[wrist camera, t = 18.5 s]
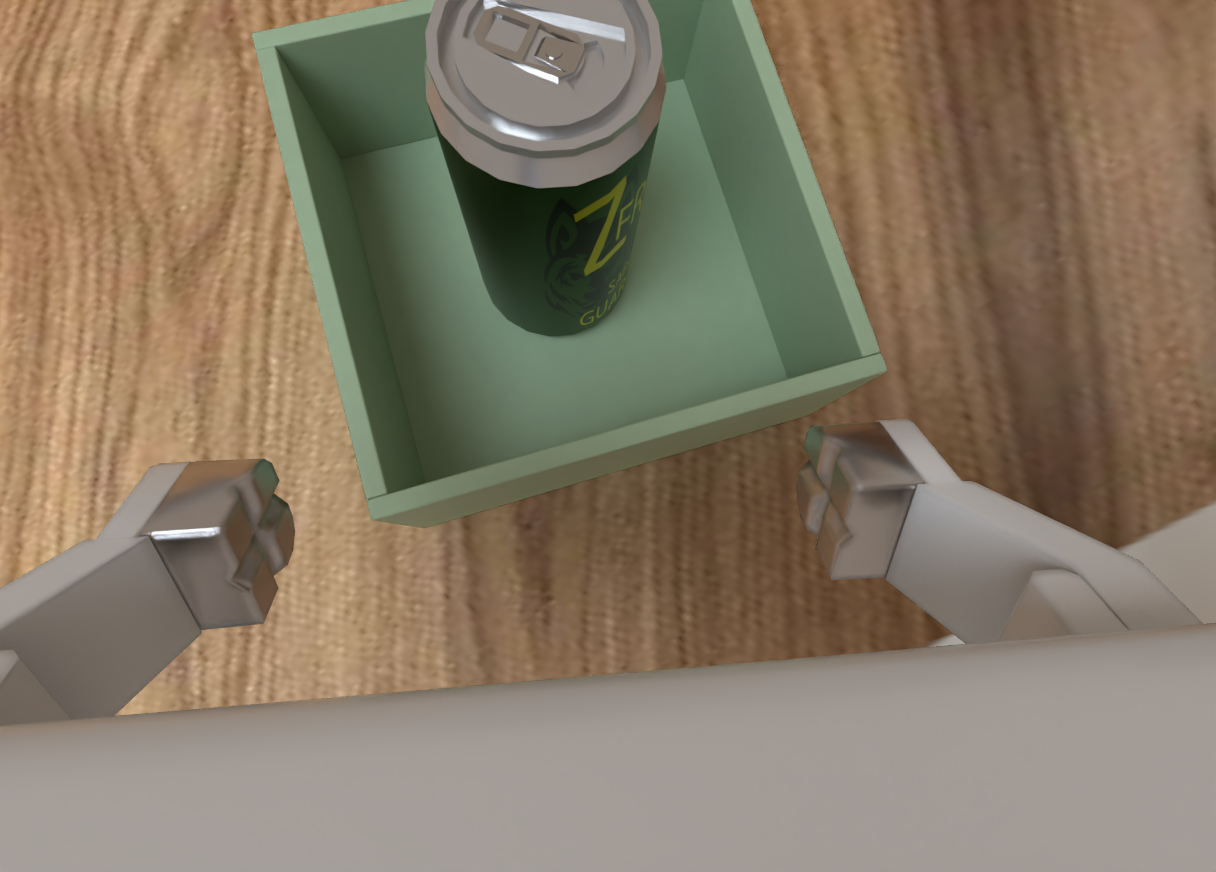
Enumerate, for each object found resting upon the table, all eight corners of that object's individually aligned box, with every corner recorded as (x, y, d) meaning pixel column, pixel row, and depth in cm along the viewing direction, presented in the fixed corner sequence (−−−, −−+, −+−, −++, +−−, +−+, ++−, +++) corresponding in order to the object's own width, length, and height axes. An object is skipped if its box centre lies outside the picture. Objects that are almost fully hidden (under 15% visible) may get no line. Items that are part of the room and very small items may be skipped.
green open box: (808, 415, 26) (889, 370, 20) (423, 528, 25) (370, 521, 18) (689, 73, 28) (725, -69, 22) (328, 158, 27) (250, 31, 20)
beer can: (462, 311, 25) (369, 103, 14) (517, 190, 26) (475, -105, 14) (595, 363, 25) (619, 201, 13) (645, 240, 26) (708, -14, 14)
